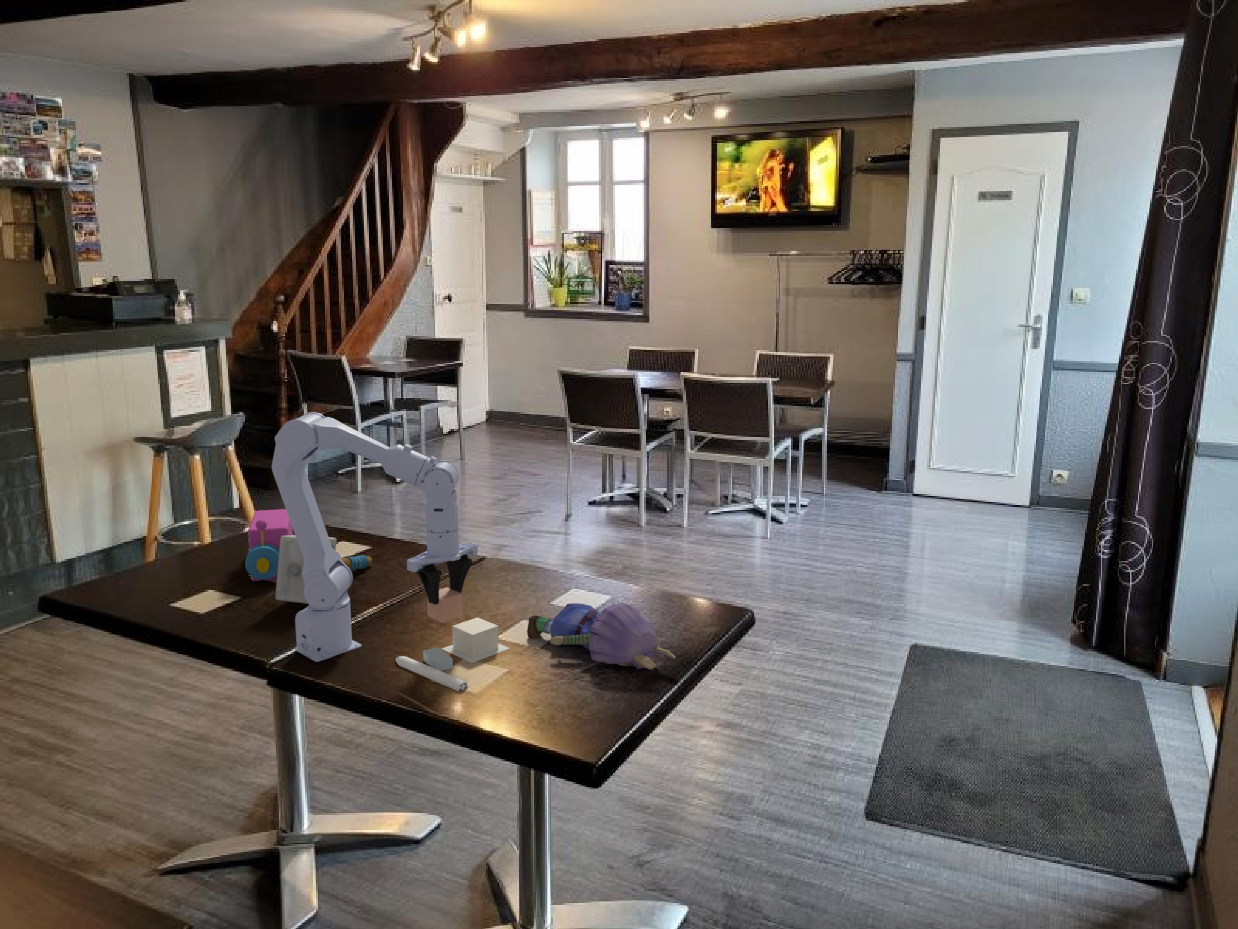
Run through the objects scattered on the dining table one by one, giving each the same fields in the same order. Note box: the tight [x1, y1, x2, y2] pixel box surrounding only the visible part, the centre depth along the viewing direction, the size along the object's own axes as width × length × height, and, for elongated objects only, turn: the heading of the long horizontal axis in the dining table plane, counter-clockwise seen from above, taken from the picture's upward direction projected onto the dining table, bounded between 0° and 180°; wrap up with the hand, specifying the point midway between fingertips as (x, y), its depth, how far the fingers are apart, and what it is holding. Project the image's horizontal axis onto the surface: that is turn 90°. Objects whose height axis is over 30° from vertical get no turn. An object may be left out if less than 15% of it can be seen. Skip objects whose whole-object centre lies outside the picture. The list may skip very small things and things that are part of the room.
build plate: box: [441, 642, 511, 664], centre depth 171 cm, size 9×9×1 cm
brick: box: [422, 646, 454, 672], centre depth 164 cm, size 6×3×2 cm, turn 35°
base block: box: [451, 617, 499, 658], centre depth 170 cm, size 6×6×4 cm
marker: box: [395, 655, 469, 692], centre depth 160 cm, size 18×2×2 cm, turn 52°
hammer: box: [275, 534, 373, 605], centre depth 203 cm, size 8×13×30 cm
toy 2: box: [526, 602, 676, 670], centre depth 170 cm, size 18×11×30 cm
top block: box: [426, 586, 463, 624], centre depth 169 cm, size 4×4×4 cm
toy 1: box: [244, 508, 294, 582], centre depth 214 cm, size 28×9×15 cm, turn 17°
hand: (444, 599), depth 169 cm, fingers closed on top block, 4 cm apart
